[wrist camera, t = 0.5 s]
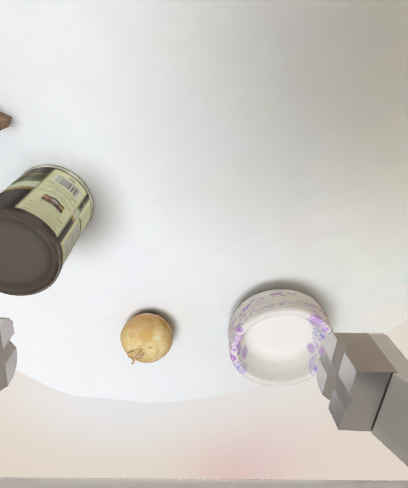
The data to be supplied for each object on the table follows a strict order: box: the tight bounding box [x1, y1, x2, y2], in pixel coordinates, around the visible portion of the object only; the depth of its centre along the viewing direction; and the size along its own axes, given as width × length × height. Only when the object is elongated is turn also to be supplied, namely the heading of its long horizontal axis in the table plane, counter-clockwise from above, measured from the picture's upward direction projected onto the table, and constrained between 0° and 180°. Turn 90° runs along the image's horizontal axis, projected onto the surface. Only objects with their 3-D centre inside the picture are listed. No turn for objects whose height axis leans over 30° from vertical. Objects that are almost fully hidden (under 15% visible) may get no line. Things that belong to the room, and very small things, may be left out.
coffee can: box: [0, 165, 93, 296], centre depth 44 cm, size 10×10×14 cm
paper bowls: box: [228, 289, 333, 386], centre depth 57 cm, size 15×15×8 cm
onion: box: [121, 313, 173, 364], centre depth 58 cm, size 8×8×7 cm
